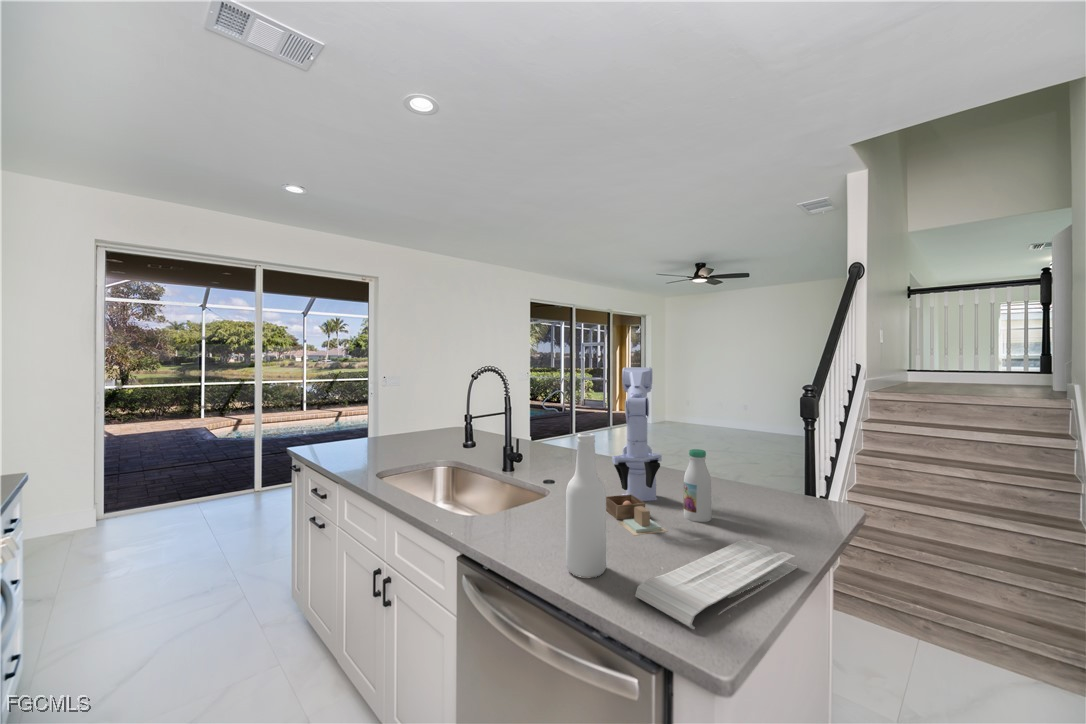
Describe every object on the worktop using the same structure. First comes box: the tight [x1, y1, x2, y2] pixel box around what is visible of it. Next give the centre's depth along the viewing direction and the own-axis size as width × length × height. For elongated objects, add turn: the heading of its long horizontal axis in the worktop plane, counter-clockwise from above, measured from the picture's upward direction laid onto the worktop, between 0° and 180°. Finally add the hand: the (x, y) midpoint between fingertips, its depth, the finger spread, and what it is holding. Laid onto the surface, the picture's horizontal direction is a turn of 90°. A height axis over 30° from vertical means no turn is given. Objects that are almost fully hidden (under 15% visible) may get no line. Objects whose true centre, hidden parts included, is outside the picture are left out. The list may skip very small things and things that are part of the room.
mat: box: [618, 520, 668, 536], centre depth 122 cm, size 10×10×1 cm
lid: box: [622, 506, 662, 533], centre depth 123 cm, size 8×8×5 cm
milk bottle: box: [683, 448, 712, 523], centre depth 129 cm, size 8×8×20 cm
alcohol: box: [565, 432, 607, 578], centre depth 98 cm, size 9×9×30 cm
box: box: [606, 494, 646, 521], centre depth 133 cm, size 9×9×4 cm
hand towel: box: [634, 538, 799, 630], centre depth 92 cm, size 12×4×40 cm
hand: (636, 488), depth 125 cm, fingers open, 7 cm apart
